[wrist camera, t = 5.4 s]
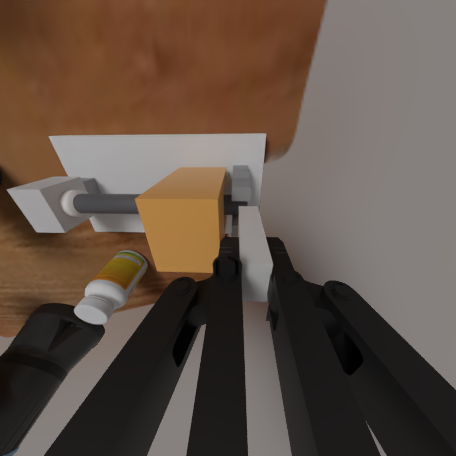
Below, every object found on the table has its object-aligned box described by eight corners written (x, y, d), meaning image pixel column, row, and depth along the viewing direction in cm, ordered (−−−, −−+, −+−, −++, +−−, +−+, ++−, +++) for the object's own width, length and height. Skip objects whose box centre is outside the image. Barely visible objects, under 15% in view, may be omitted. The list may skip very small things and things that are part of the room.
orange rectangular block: (227, 217, 21) (220, 273, 13) (187, 217, 21) (157, 271, 13) (226, 167, 18) (217, 199, 10) (179, 167, 18) (134, 198, 10)
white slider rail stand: (255, 228, 24) (262, 266, 18) (102, 226, 25) (55, 261, 19) (264, 133, 18) (279, 137, 12) (61, 135, 19) (-32, 139, 13)
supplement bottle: (111, 248, 28) (57, 301, 19) (143, 249, 27) (102, 302, 19) (123, 272, 30) (80, 327, 22) (152, 272, 30) (119, 328, 22)
